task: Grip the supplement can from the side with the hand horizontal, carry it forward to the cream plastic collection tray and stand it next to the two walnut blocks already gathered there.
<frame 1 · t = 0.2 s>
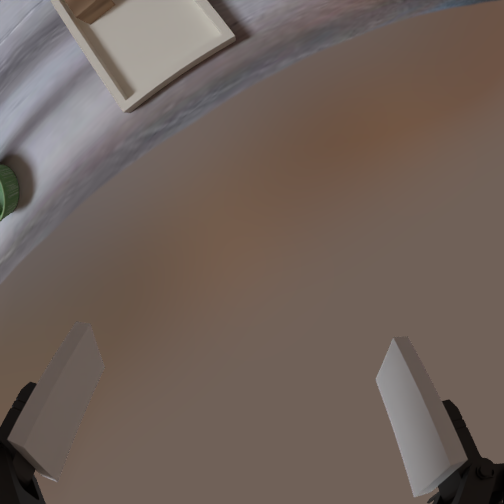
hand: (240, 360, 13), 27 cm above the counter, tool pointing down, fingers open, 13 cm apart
tray: (136, 14, 28), on the counter
ramekin: (4, 189, 36), on the counter
walnut block B: (96, 6, 26), point 1 cm above the counter, touching tray
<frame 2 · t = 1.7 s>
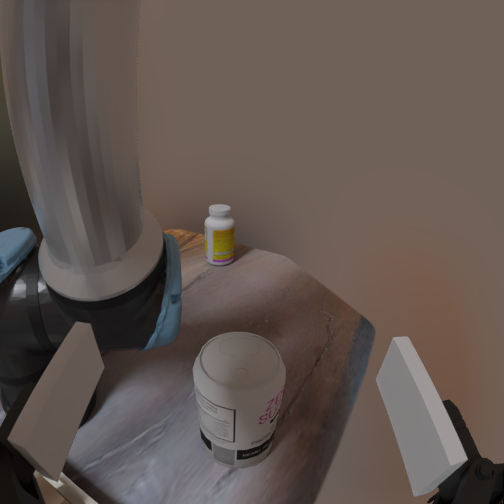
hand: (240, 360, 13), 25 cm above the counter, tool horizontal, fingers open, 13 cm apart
supplement can: (236, 442, 32), on the counter
supplement bottle: (219, 260, 74), on the counter
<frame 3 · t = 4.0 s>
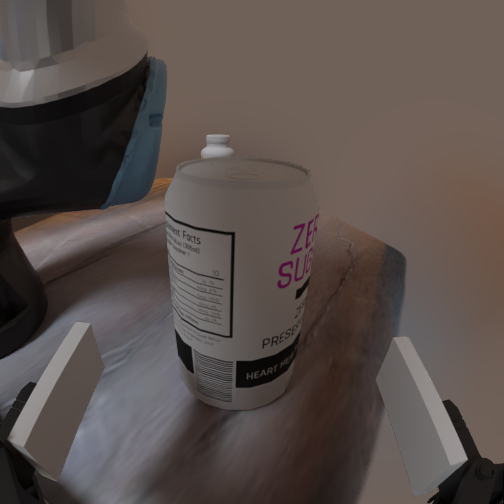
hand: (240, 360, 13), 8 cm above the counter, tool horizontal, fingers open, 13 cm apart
supplement can: (236, 374, 23), on the counter
supplement bottle: (216, 198, 64), on the counter
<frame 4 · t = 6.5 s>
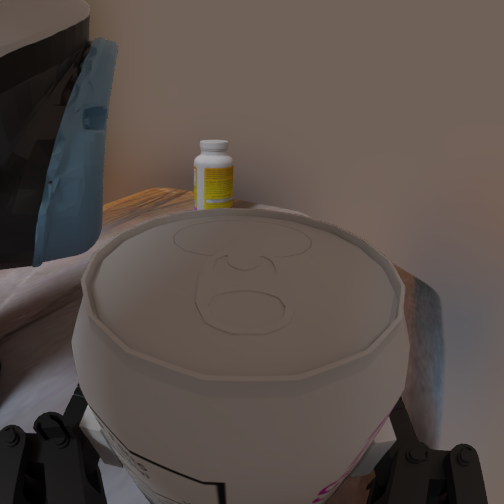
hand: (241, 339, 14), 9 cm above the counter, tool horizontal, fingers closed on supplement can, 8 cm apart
supplement can: (235, 499, 13), on the counter, touching gripper
supplement bottle: (213, 215, 55), on the counter
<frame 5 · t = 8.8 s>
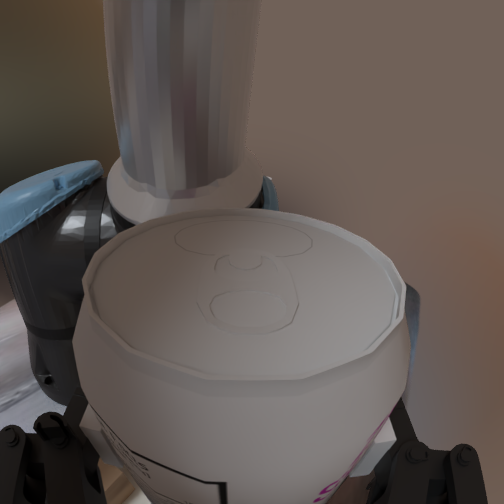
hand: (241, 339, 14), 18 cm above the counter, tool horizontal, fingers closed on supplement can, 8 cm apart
walnut block A: (105, 490, 19), point 1 cm above the counter, touching tray
supplement can: (235, 499, 13), point 10 cm above the counter, touching gripper
when the fingers open (11 cm above the counter, at t = 11.1 s): supplement can drops 1 cm, resting on tray.
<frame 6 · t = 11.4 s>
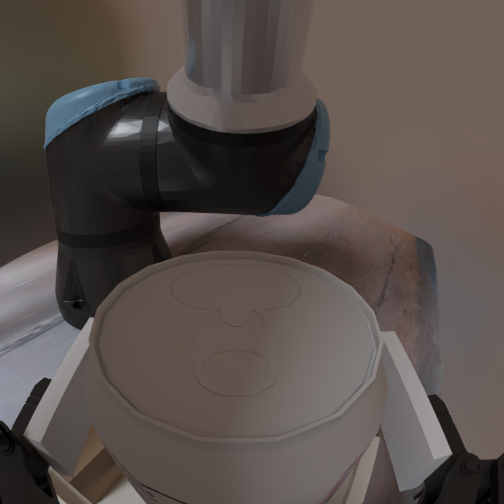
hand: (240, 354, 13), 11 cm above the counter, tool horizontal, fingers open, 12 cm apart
tray: (179, 481, 16), on the counter
walnut block B: (90, 469, 15), point 1 cm above the counter, touching tray
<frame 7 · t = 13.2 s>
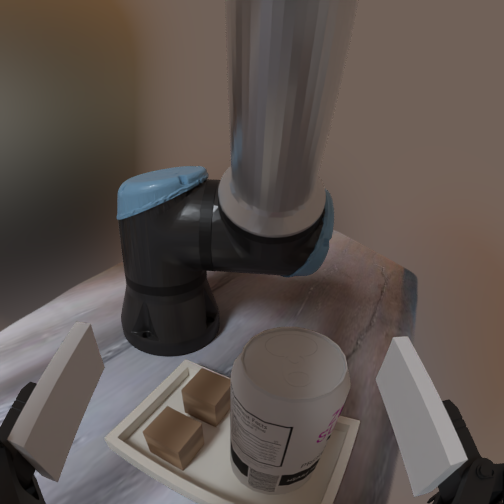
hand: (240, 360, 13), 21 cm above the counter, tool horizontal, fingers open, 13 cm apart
walnut block A: (209, 408, 32), point 1 cm above the counter, touching tray
tray: (235, 450, 27), on the counter
walnut block B: (177, 448, 26), point 1 cm above the counter, touching tray
supplement can: (272, 463, 26), point 1 cm above the counter, touching tray
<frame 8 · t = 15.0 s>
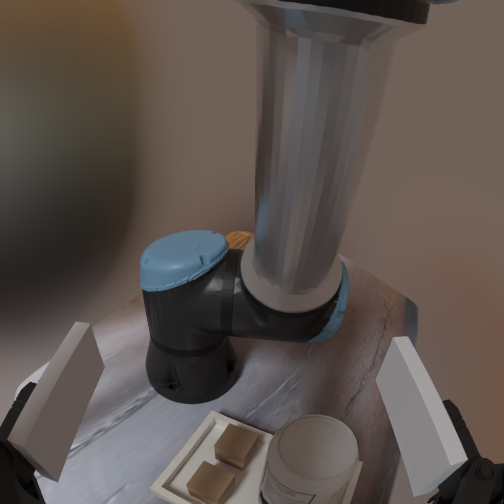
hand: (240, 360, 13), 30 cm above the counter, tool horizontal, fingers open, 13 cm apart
walnut block A: (236, 454, 35), point 1 cm above the counter, touching tray
tray: (260, 489, 30), on the counter
walnut block B: (212, 490, 29), point 1 cm above the counter, touching tray
supplement can: (291, 499, 29), point 1 cm above the counter, touching tray
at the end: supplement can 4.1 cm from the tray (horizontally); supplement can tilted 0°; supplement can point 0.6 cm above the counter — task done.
